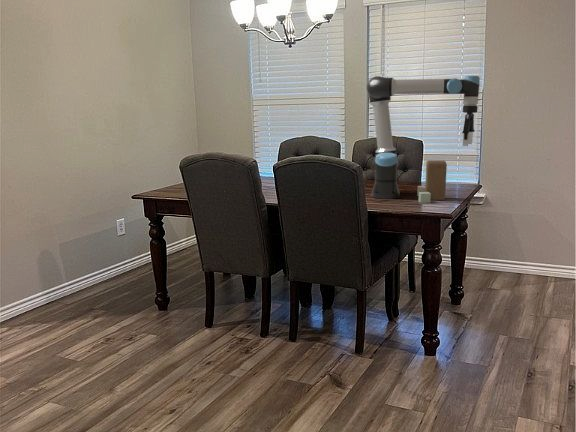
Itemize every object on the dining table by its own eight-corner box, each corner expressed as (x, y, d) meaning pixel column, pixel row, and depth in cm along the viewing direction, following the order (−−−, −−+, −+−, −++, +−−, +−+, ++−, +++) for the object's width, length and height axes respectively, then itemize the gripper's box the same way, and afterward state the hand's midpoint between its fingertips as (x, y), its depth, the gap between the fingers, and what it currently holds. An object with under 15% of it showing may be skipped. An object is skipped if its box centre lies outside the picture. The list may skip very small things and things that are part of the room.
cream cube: (417, 196, 312) (417, 187, 311) (418, 194, 317) (418, 185, 316) (426, 196, 311) (426, 187, 310) (427, 195, 315) (427, 186, 314)
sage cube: (420, 203, 292) (420, 193, 291) (418, 201, 297) (418, 192, 296) (430, 203, 292) (430, 193, 291) (428, 201, 297) (428, 191, 296)
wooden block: (445, 200, 297) (446, 162, 293) (425, 200, 299) (426, 162, 295) (443, 197, 307) (445, 160, 303) (424, 197, 309) (426, 160, 305)
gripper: (474, 105, 293) (470, 147, 297) (481, 105, 315) (478, 143, 319) (459, 105, 296) (456, 146, 300) (467, 104, 318) (464, 142, 322)
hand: (467, 144), depth 310 cm, fingers open, 13 cm apart
